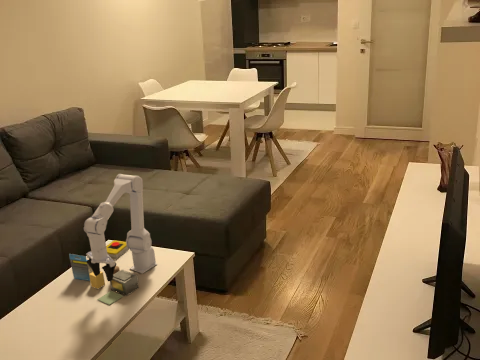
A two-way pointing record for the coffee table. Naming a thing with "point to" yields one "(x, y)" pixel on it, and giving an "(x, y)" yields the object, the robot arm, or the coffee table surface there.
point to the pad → (110, 297)
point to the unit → (124, 282)
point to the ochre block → (97, 280)
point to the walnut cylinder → (116, 270)
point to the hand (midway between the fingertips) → (103, 277)
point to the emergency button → (116, 249)
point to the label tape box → (80, 267)
